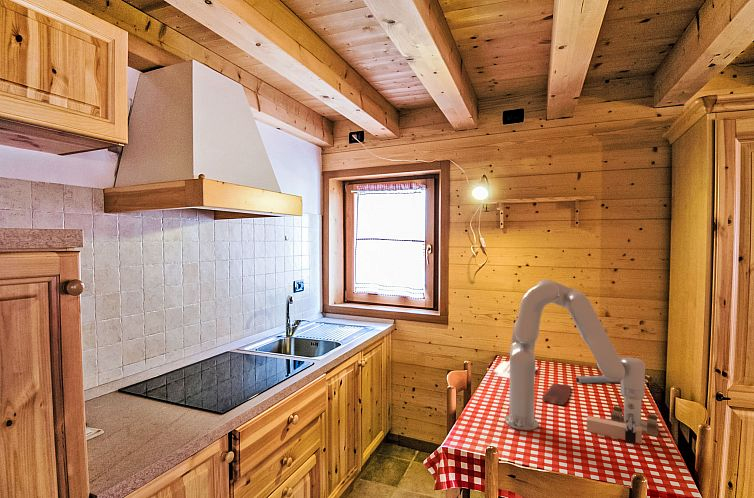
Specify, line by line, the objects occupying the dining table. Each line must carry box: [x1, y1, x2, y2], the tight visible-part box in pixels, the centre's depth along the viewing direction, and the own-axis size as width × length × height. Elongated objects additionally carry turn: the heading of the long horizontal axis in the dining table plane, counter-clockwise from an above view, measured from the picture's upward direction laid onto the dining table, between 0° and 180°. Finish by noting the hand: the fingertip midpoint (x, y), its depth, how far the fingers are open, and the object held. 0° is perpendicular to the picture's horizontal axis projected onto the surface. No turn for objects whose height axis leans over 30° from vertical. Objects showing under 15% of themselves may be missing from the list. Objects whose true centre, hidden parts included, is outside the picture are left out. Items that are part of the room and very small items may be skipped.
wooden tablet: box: [542, 383, 572, 406], centre depth 190 cm, size 27×10×2 cm, turn 145°
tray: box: [493, 360, 539, 379], centre depth 224 cm, size 20×28×4 cm
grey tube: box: [575, 375, 621, 384], centre depth 206 cm, size 23×7×3 cm, turn 94°
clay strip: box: [586, 415, 643, 444], centre depth 152 cm, size 4×18×5 cm, turn 59°
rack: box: [610, 405, 659, 437], centre depth 159 cm, size 10×16×4 cm, turn 53°
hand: (631, 436), depth 148 cm, fingers open, 9 cm apart
